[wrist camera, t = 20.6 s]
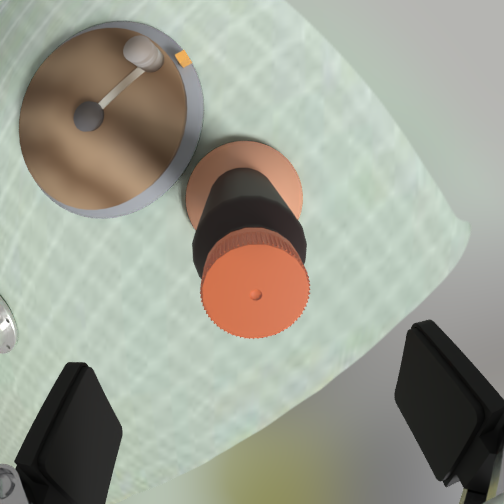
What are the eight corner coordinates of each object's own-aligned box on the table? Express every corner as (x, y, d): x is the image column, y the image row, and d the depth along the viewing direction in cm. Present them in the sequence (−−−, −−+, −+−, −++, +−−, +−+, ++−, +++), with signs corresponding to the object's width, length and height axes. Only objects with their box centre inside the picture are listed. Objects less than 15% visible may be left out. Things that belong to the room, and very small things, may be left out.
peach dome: (196, 257, 36) (195, 261, 35) (179, 148, 32) (178, 149, 31) (304, 245, 36) (305, 248, 35) (296, 135, 32) (298, 136, 31)
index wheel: (135, 235, 33) (114, 260, 27) (9, 163, 29) (-28, 173, 23) (223, 73, 28) (219, 57, 22) (76, 14, 24) (46, -5, 18)
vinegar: (203, 172, 32) (162, 233, 13) (271, 162, 32) (327, 209, 13) (215, 236, 34) (197, 362, 16) (279, 226, 34) (332, 342, 16)
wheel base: (42, 228, 34) (27, 237, 31) (21, 58, 26) (5, 55, 23) (215, 201, 34) (213, 208, 31) (194, 5, 26) (190, -7, 23)
